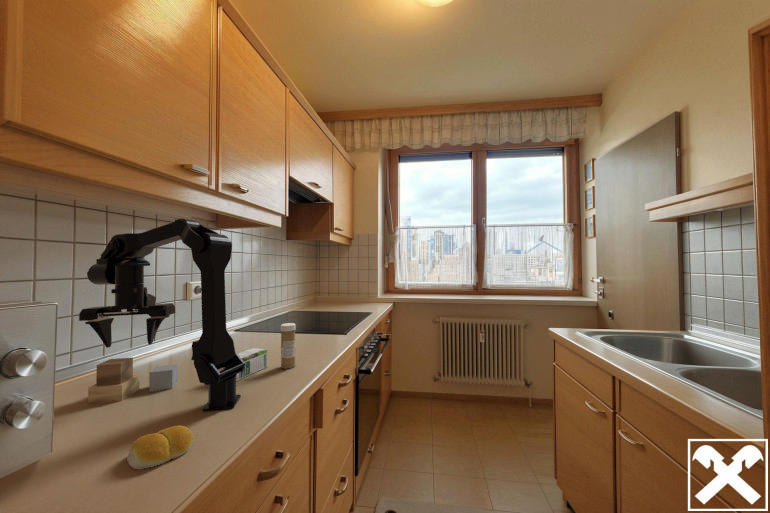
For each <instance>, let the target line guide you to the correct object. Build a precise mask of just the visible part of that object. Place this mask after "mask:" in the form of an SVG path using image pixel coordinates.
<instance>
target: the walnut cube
mask: <svg viewBox="0 0 770 513" xmlns="http://www.w3.org/2000/svg"><path fill="white" fill-rule="evenodd" d="M95 376H96V383H95V384H96V386H105V385H117V384H122V383H123V382H125V381H127V380H128V379H130V378H132V377H133V376H134V357H119V358H118V357H117V358H110V359H108V360H104V361H103V362H100V363H98V364H96V375H95Z"/></svg>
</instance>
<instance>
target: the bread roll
mask: <svg viewBox="0 0 770 513" xmlns="http://www.w3.org/2000/svg"><path fill="white" fill-rule="evenodd" d="M193 440H194V435H193V432H192V431H191V430H190V428H188V427H187V426H185V425H173V426H169V427H166V428H164V429H161V430H159V431H157V432H156V433H148V434H144V435H142V436H140V437H138V438H137V439H136V440H135V441H134V442H132V444H131V446H130V448H129V452H128V455H127V457H126V460H127V463H128V465H129V466H130V467H131V468H132V469H134V470H145V469H149V467H151V468H154V466H155V467H157V465H158V466H161V465H162V464H165V463H166V462H168V461H170V460H171V459H173V460H174V459H176V458H179V457H181V456H183V455H184V454H186V453H187V452H188V450H189V449H190V447H191V446H192V444H193V443H194V442H193ZM160 464H161V465H160ZM144 468H145V469H144Z"/></svg>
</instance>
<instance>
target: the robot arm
mask: <svg viewBox="0 0 770 513" xmlns="http://www.w3.org/2000/svg"><path fill="white" fill-rule="evenodd" d="M178 241H181V242H182V243H183V244H184V245H186V246H187V247H189V249H190V250H191V256H192V261H193V263H194V264H195V265H196V266H197V268H198V270H199V271H200V289H201V290H200V293H201V295H200V296H201V298H200V299H201V327H202V329H201V330H202V331H201V332H202V333H201V335H200V338H199V339H198V340H195V341H192V343H191V350H192V356H191V359H190V360H191V361H193V366H194V368H195V371H196V374H197V378H198V382H199V383H200V384H204V385H206V386H207V387H208V390H207V391H208V392H207V394H208V395H207V396H208V402H206V403H205V405H204V406H203V407H202V412H204V411H205V412H208V411H216V410H226V409H227V410H228V409H234V408H235V407H236V405H237V403H238V402H239V401H240V399H241V397H242V396H241V394H237V381H236V374H238V373H240V372H243V370H244V367H245V362H244V361H243V360H242V359H241V358H240V356H239V355H238V352H236V349H235V343H234V339H233V338H232V336H231V335H230V333H229V332H228V330H227V311H226V310H227V307H226V306H227V305H226V277H225V275H226V274H225V273H226V272H225V271H226V269H227V267H228V265H229V262H231V258H232V250H233V242H232V240H231V239H230V237H228V236H227V235H225V234H220V233H218V232H216V231H215V230H212V229H211V228H208V227H206V226H204V225H203V224H201V223H200V222H198V221H197V220H193V219H187V218H177V219H175V220H174V221H172V222H169V223H166V224H163V225H160V226H156V227H153V228H151V229H148V230H145V231H142V232H136V233H135V232H133V233H131V232H130V233H129V232H128V233H120V234H115V235H112V237H111V238H110V240H109V241H108V243H107V245H106V246H105V248H104V250H103V251H102V253H101V254H100V257H99V258H97V259H96V262H95V264H93V265H91V266H90V267H89V269H88V271H87V272H86V276H87V278H88V279H87V280H89V282H91V283H92V284H94V285H98V286H99V285H103V286H106V285H114V288H113V289H111V292H110V293H111V294H114V305H104V306H92V307H91V306H90V307H87V308H82V309H81V311H80V312H79V313H78V321H79V322H82V321H85V322H84V324H85V325H89V326H90V327H91V328H92V329H93V331H95V333H96V335H98V337H99V338H100V340H101V341H102V343H103V344H104V346H105V348H106V349H108V348H110V347H112V342H113V341H112V324H113V322H114V318H115V317H119V316H120V317H121V316H137V315H139V316H140V315H148V316H149V317H148V318H146V320H145V321H146V322H145V323H146V336H147V337H146V339H147V344H148V345H149V346H150V345H152V344H153V343H154V340H155V338H156V336H157V333H158V330H159V328H160V325H161V324H162V323H163V321H164V320H165V319H166V318H170V316H172V315H174V314H176V306H175V305H174V303H173V302H170V303H169V302H168V303H156V301H157V296H154V295H153V294H150V293H148V289H147V286H145V269H144V268H145V267H150V265H151V263H150V262H149V261H148V260H147V259H146V258H145V257H146V256H148V255H150V254H152V253H153V252H154V249H157V248H159V247H162V246H165V245H169V244H172V243H175V242H178ZM122 310H126V311H122ZM223 367H225V369H223V370H221V371H218V370H219V369H221V368H223Z"/></svg>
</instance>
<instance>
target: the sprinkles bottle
mask: <svg viewBox="0 0 770 513" xmlns="http://www.w3.org/2000/svg"><path fill="white" fill-rule="evenodd" d="M280 335H281V336H280V357H281V358H280V363H281V364H280V368H281V369H292V368H294V367H296V323H294V322H287V323H282V324H280Z"/></svg>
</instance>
